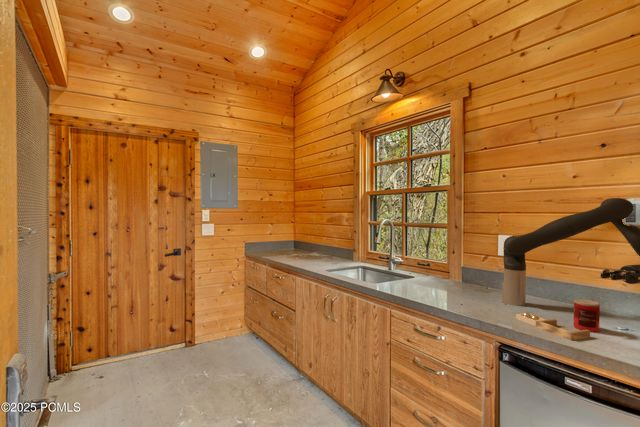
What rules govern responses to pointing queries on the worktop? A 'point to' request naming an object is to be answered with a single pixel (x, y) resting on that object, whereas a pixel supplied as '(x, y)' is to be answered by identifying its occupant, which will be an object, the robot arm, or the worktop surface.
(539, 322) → the birch holder
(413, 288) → the worktop surface
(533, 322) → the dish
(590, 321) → the canned food
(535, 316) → the brass ball
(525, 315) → the steel ball
